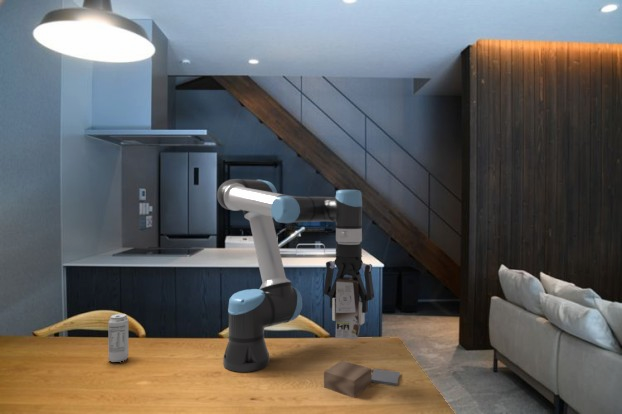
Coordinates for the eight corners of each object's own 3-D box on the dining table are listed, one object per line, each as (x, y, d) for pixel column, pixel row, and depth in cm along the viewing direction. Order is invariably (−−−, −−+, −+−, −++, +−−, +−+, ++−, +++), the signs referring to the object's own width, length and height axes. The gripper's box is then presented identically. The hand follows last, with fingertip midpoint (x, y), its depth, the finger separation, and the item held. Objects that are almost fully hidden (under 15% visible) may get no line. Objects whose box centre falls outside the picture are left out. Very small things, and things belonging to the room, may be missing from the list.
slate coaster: (369, 382, 118) (369, 379, 118) (374, 371, 126) (374, 368, 126) (397, 386, 115) (397, 383, 115) (399, 374, 123) (399, 372, 123)
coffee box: (358, 340, 110) (358, 282, 110) (335, 338, 111) (335, 281, 111) (360, 329, 119) (360, 276, 119) (339, 328, 120) (339, 275, 120)
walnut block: (323, 388, 114) (324, 371, 114) (342, 376, 122) (342, 360, 122) (353, 399, 108) (354, 380, 108) (371, 385, 116) (371, 368, 116)
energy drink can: (131, 356, 136) (131, 313, 136) (123, 363, 130) (123, 318, 130) (113, 356, 136) (113, 313, 136) (105, 363, 130) (105, 318, 130)
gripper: (311, 242, 116) (311, 319, 117) (378, 246, 107) (377, 330, 107) (322, 240, 123) (322, 313, 123) (386, 243, 113) (386, 323, 114)
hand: (348, 321), depth 115 cm, fingers closed on coffee box, 7 cm apart
